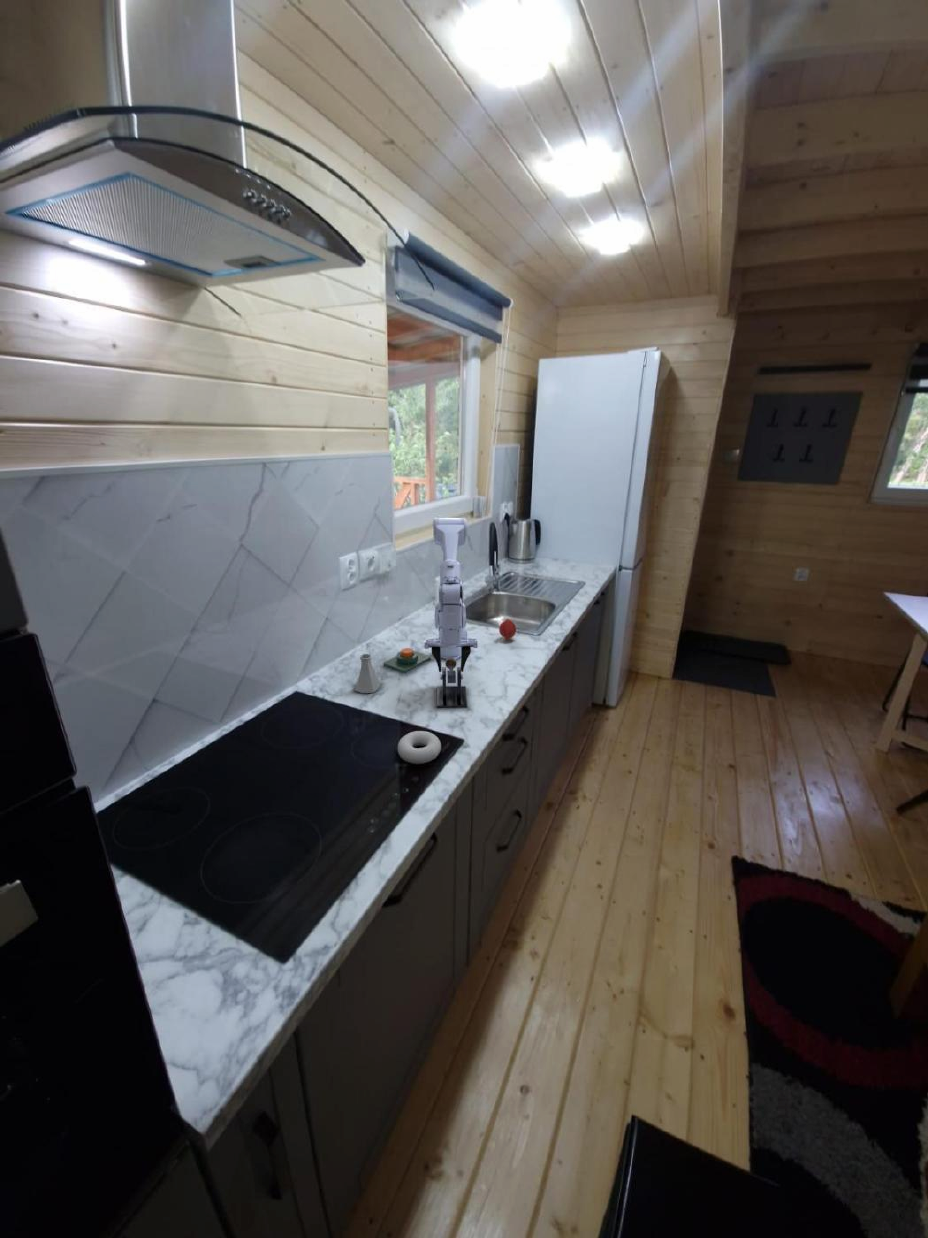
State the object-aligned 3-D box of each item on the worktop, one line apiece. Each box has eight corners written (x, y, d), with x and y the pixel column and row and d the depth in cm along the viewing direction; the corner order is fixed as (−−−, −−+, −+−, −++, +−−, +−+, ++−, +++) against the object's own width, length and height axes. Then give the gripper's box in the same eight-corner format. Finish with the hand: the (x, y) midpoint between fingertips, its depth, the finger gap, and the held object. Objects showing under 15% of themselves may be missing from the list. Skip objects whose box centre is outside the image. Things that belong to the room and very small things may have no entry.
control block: (409, 652, 162) (409, 644, 160) (430, 660, 157) (430, 651, 156) (383, 666, 153) (383, 657, 151) (405, 674, 148) (405, 665, 147)
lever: (445, 666, 142) (445, 656, 141) (456, 666, 142) (456, 656, 141) (445, 684, 132) (445, 674, 130) (457, 684, 132) (457, 673, 131)
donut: (410, 736, 119) (389, 760, 111) (409, 724, 118) (388, 747, 109) (448, 746, 116) (429, 771, 107) (448, 733, 115) (429, 758, 106)
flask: (375, 695, 137) (373, 663, 133) (350, 692, 138) (348, 660, 134) (384, 682, 143) (382, 651, 139) (360, 680, 144) (358, 649, 141)
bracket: (437, 690, 140) (436, 662, 136) (465, 689, 140) (465, 662, 137) (436, 709, 130) (436, 680, 127) (467, 709, 131) (467, 679, 127)
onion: (499, 635, 175) (500, 614, 172) (515, 636, 174) (517, 615, 171) (498, 642, 170) (499, 620, 166) (515, 643, 169) (516, 621, 166)
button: (406, 652, 156) (406, 647, 155) (415, 655, 154) (415, 650, 153) (398, 656, 153) (398, 651, 153) (407, 659, 151) (407, 654, 151)
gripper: (423, 632, 130) (425, 677, 136) (478, 631, 131) (477, 676, 136) (424, 621, 137) (425, 665, 142) (476, 621, 138) (475, 664, 143)
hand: (451, 670), depth 140 cm, fingers open, 5 cm apart
